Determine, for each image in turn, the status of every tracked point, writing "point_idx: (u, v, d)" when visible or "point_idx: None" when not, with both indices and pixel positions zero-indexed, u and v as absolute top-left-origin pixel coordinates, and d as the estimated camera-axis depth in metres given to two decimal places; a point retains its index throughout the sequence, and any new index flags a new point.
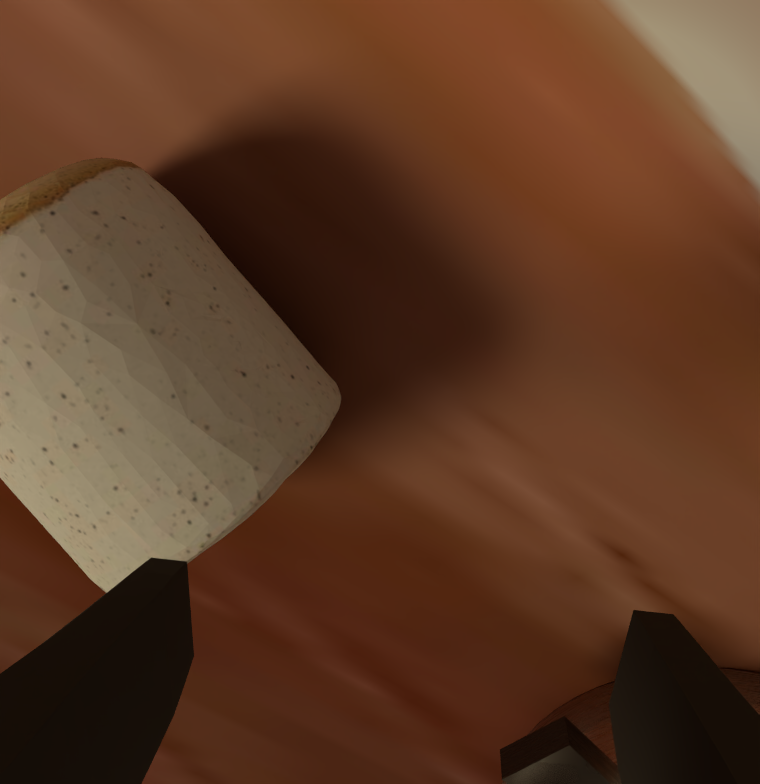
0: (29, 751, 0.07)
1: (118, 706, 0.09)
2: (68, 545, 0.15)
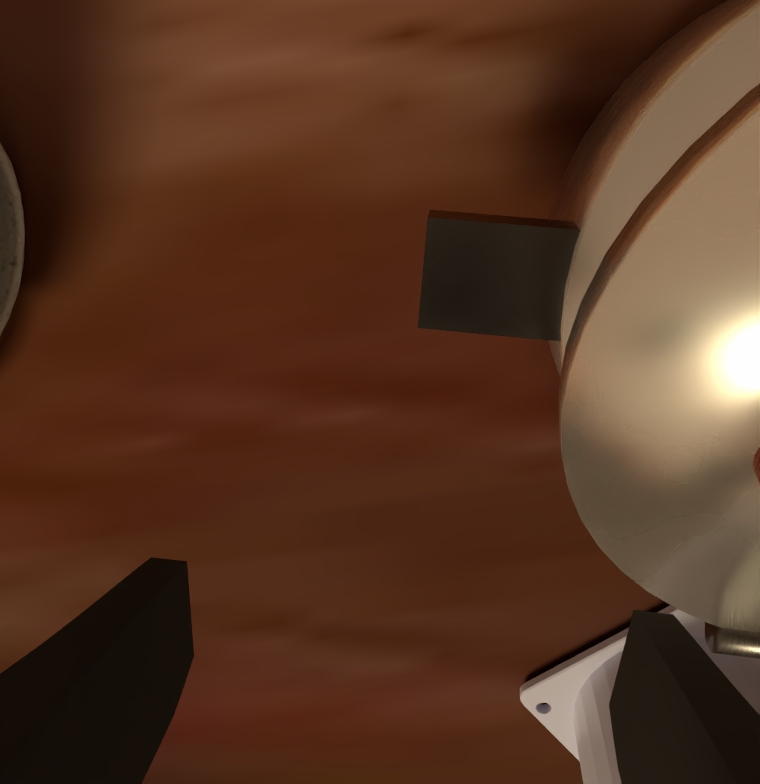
0: (29, 751, 0.07)
1: (119, 706, 0.09)
2: None
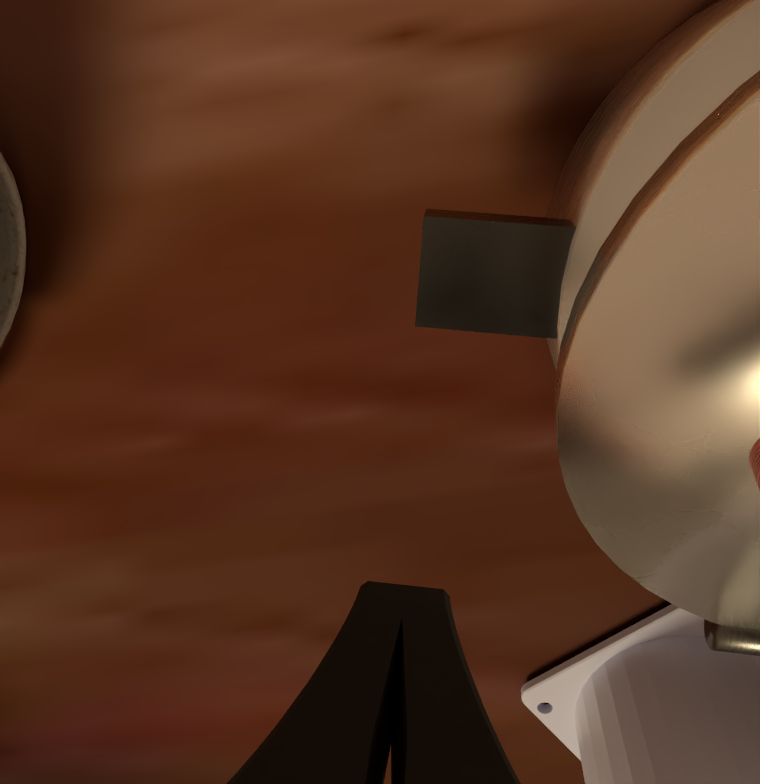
0: None
1: (380, 740, 0.09)
2: None
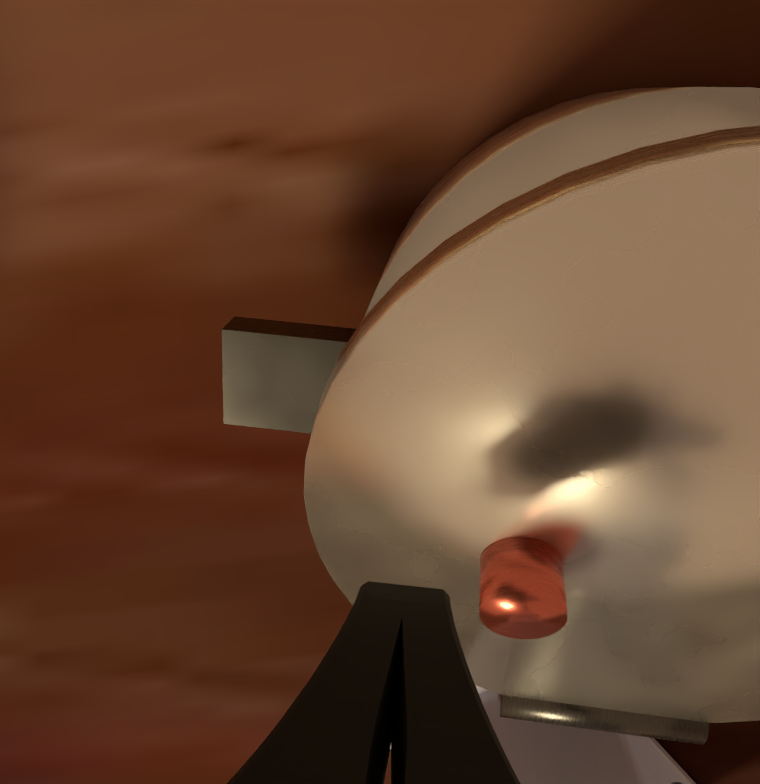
0: None
1: (381, 739, 0.09)
2: None
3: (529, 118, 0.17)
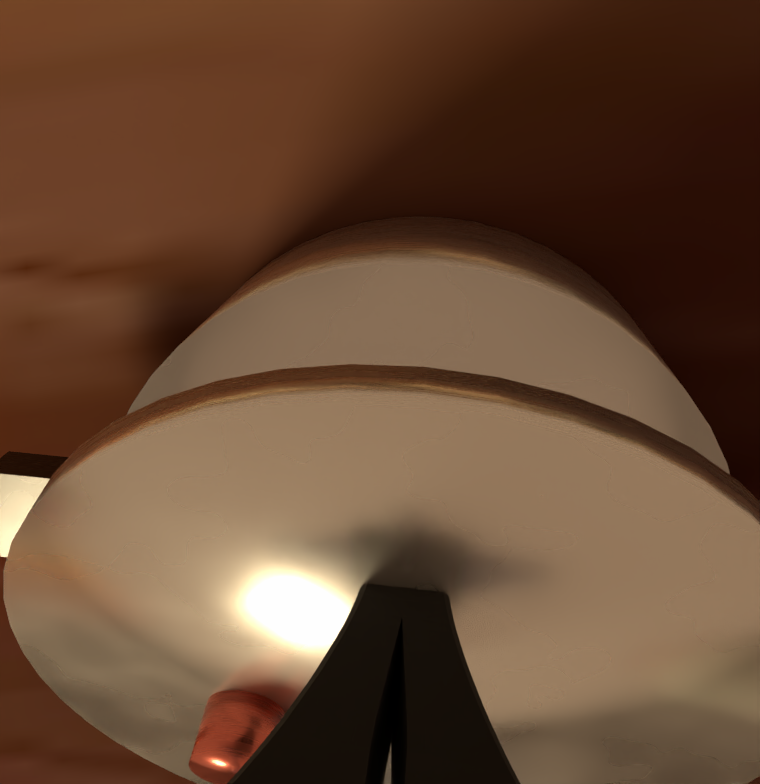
0: None
1: (381, 740, 0.09)
2: None
3: (293, 252, 0.17)
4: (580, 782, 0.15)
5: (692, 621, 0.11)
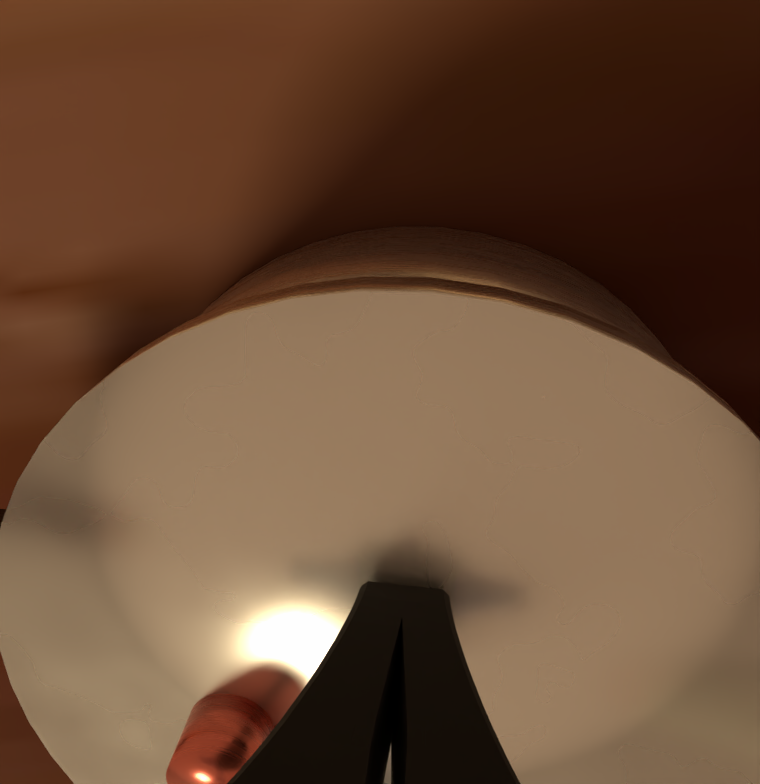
0: None
1: (380, 738, 0.09)
2: None
3: (266, 268, 0.14)
4: None
5: (698, 560, 0.11)
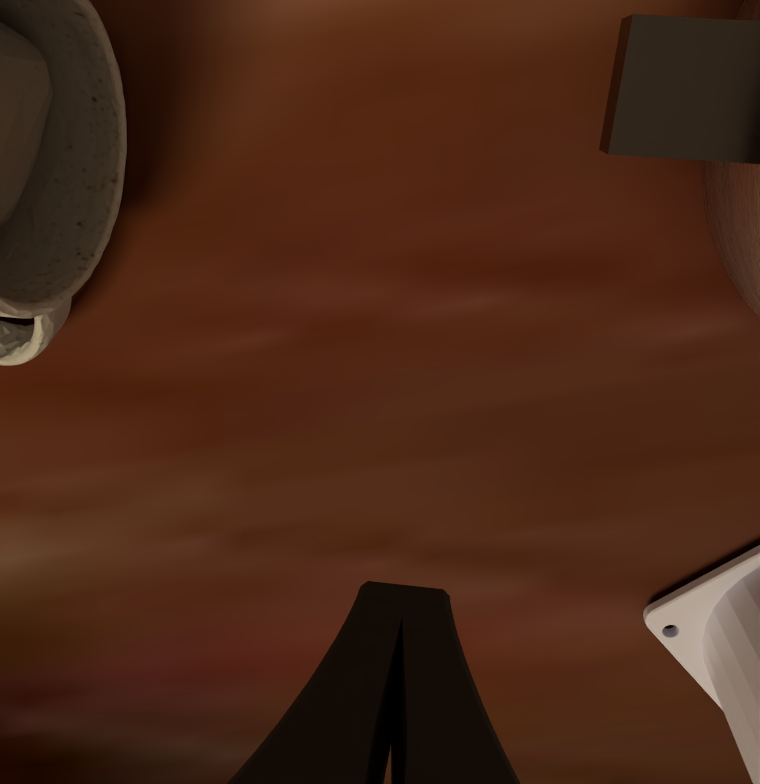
0: None
1: (380, 739, 0.09)
2: None
3: None
4: None
5: None
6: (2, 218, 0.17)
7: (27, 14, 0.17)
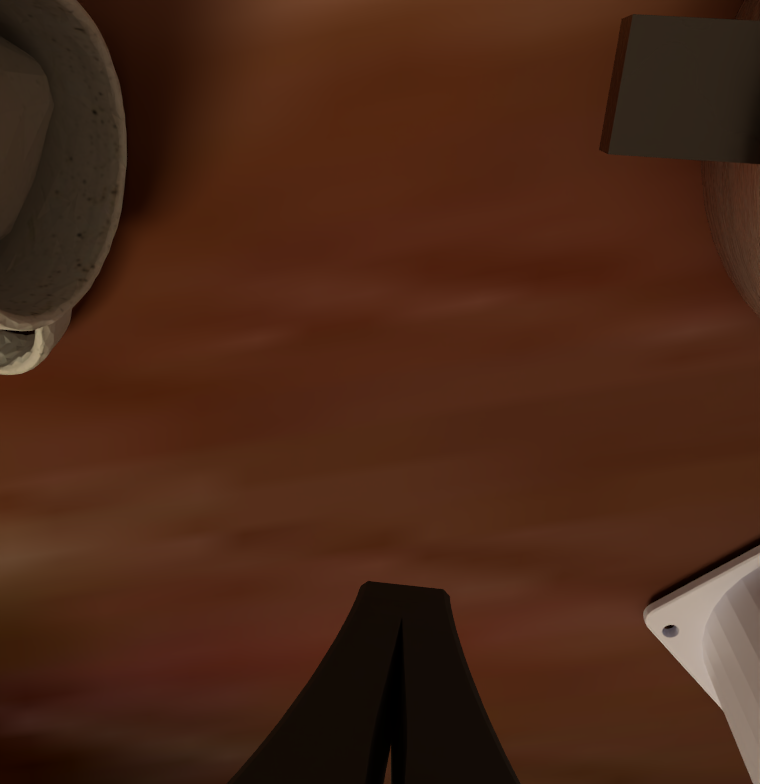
0: None
1: (380, 739, 0.09)
2: None
3: None
4: None
5: None
6: (3, 231, 0.17)
7: (29, 28, 0.17)
